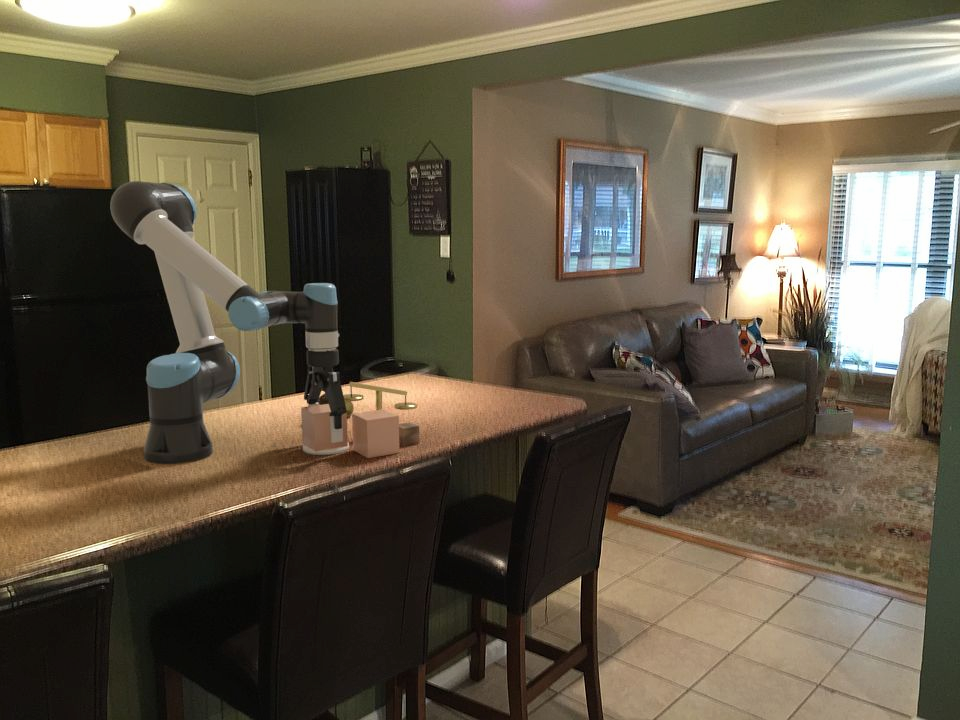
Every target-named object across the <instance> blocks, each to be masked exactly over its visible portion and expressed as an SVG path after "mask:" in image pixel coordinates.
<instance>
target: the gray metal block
mask: <svg viewBox="0 0 960 720" xmlns="http://www.w3.org/2000/svg"><path fill="white" fill-rule="evenodd" d="M417 444H420V425H418V424H416V423H413V422H404V423H399V446H403V447H405V446H411V445H417Z"/></svg>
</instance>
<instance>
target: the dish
mask: <svg viewBox="0 0 960 720" xmlns="http://www.w3.org/2000/svg"><path fill="white" fill-rule="evenodd" d="M349 449H350V443H349V442H348V446H345V447H339V448H333V449H327V450H320V451H314V450H313V449H311V448H309V447H307V446H306V445H304V444H303V443H302V451H303V453H306V454H308V455H314V456H328V455H329V456H330V455H336V454H341V453H344V452H347V451H348V450H349Z"/></svg>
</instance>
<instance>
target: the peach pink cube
mask: <svg viewBox="0 0 960 720" xmlns="http://www.w3.org/2000/svg"><path fill="white" fill-rule="evenodd" d="M300 409H301V411H300V412H301V435H302V436H301V437H302V445H303V444H304V445H306V446H307V447H309V448H311V449H313V450H314V451H320V450H327V449H333V448H339V447H345V446H348V443H349V440H348V417H347V413H344V414H343V415H342V426H343V441H341V442H335V443H331V428H330V416H329V414H330V413H331V410H330V407H329V404H324V405H316V406H309V407H308V406H303V407H301V408H300ZM346 410H347V409H346Z"/></svg>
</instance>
